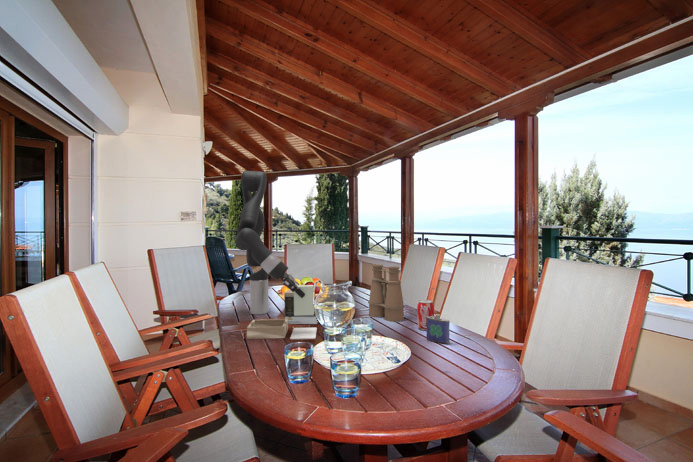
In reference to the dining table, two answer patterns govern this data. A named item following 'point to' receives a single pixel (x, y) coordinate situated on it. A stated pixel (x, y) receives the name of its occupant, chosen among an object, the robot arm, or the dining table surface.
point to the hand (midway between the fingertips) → (304, 295)
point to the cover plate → (304, 301)
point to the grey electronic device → (290, 312)
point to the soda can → (424, 313)
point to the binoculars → (386, 294)
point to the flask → (438, 330)
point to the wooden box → (267, 328)
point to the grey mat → (304, 333)
